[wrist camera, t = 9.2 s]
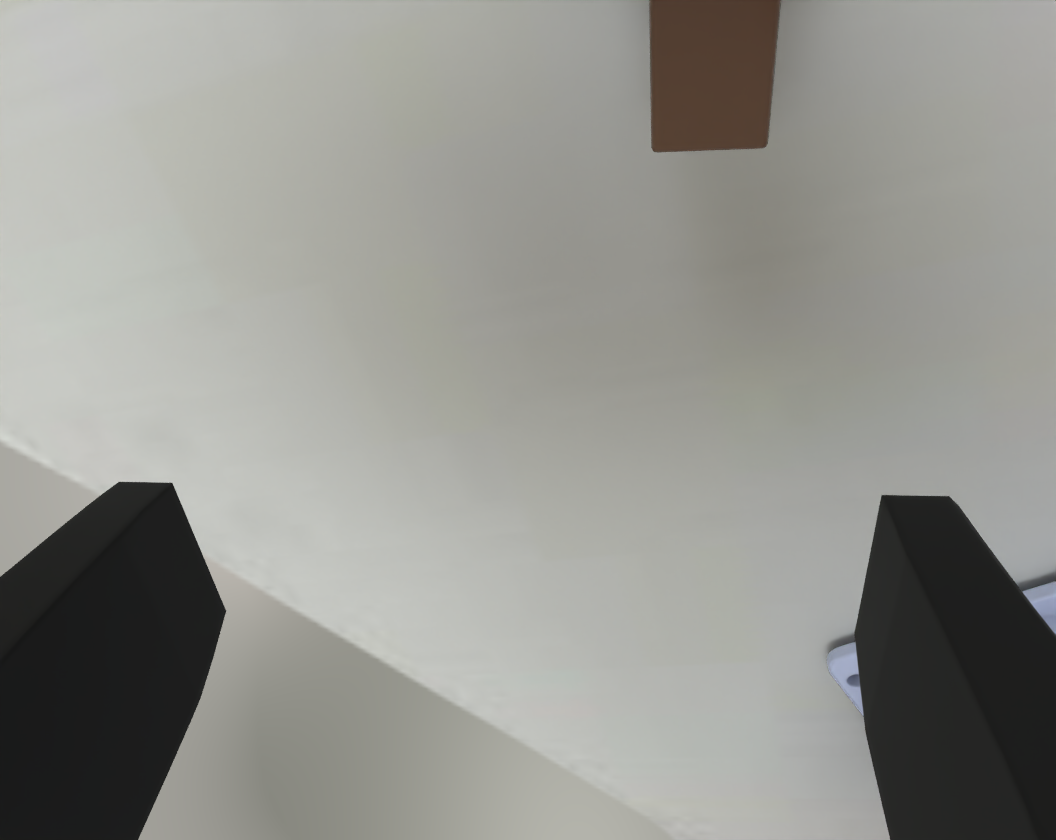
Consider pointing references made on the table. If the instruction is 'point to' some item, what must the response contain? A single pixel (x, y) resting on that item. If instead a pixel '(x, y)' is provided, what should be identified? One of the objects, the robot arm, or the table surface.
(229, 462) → the table surface
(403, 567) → the table surface
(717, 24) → the fork
